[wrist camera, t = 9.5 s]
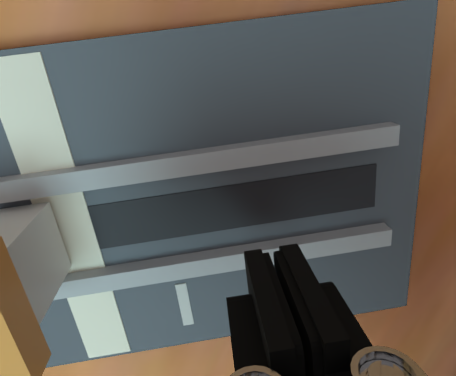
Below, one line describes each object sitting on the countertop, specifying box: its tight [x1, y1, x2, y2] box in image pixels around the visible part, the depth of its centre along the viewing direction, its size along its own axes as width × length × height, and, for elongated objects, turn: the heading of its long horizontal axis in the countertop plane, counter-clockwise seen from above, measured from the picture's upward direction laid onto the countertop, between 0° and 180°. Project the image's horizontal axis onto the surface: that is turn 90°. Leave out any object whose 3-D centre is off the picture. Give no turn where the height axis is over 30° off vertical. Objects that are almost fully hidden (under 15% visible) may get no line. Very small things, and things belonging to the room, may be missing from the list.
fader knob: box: [0, 202, 71, 376], centre depth 12 cm, size 3×4×5 cm, turn 7°
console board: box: [0, 0, 438, 368], centre depth 14 cm, size 22×14×2 cm, turn 97°
